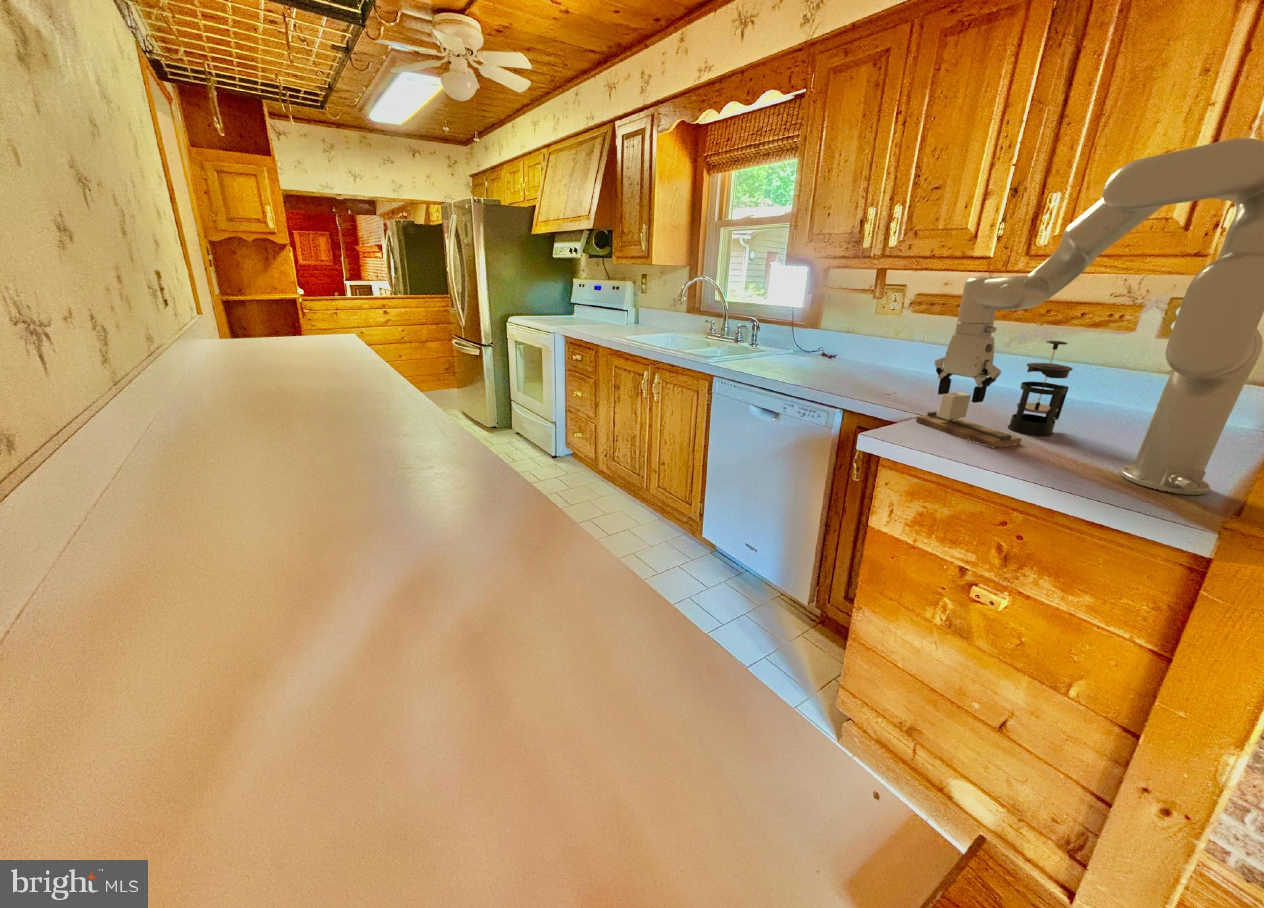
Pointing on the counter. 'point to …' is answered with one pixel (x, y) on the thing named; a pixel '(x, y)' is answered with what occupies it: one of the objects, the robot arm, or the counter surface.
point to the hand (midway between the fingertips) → (959, 397)
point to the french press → (1036, 423)
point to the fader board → (968, 430)
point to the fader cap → (954, 405)
